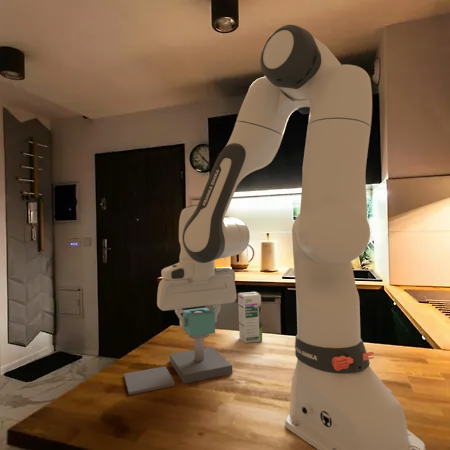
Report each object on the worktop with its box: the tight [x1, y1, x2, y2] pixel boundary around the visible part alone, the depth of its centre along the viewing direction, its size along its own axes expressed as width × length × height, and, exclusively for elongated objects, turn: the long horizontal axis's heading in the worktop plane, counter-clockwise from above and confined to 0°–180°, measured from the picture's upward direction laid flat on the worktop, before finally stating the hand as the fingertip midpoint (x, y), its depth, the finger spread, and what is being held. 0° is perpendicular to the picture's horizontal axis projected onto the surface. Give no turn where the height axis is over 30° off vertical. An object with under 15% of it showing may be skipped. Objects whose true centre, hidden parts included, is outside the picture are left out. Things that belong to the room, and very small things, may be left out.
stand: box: [169, 311, 233, 385], centre depth 83 cm, size 14×12×14 cm
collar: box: [182, 307, 216, 338], centre depth 84 cm, size 6×6×5 cm
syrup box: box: [237, 291, 263, 344], centre depth 103 cm, size 6×6×14 cm
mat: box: [123, 365, 176, 396], centre depth 77 cm, size 10×10×1 cm
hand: (198, 323), depth 83 cm, fingers closed on collar, 6 cm apart
